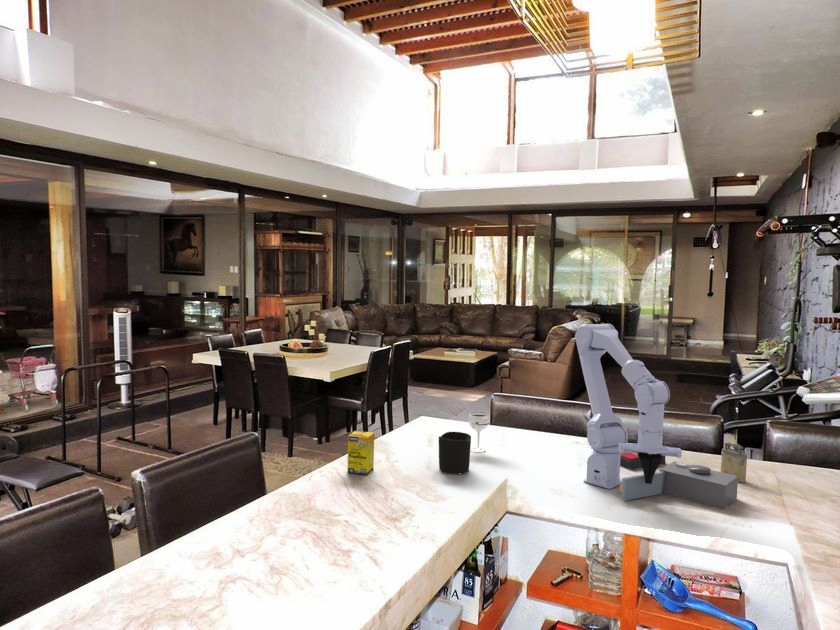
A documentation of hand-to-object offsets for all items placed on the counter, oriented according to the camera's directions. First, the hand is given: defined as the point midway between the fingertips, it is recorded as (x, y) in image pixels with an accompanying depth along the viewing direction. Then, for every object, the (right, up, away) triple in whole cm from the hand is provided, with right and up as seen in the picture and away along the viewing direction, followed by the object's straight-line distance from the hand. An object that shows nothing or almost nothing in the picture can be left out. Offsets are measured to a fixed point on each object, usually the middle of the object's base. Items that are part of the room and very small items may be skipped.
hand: (648, 482), depth 143 cm
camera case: (+15, -5, +5) cm, 16 cm away
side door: (0, -4, +3) cm, 5 cm away
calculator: (+9, -4, +33) cm, 34 cm away
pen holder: (-48, -3, +22) cm, 53 cm away
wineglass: (-39, -2, +41) cm, 56 cm away
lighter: (+31, -5, +18) cm, 37 cm away
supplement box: (-75, -3, +19) cm, 77 cm away
